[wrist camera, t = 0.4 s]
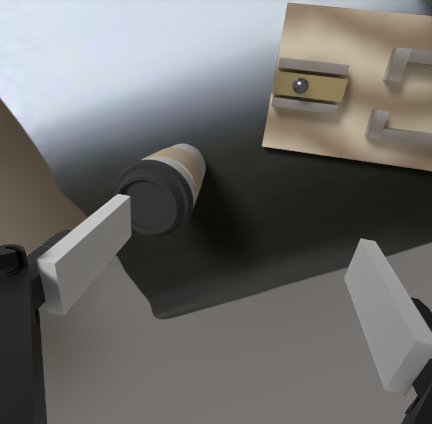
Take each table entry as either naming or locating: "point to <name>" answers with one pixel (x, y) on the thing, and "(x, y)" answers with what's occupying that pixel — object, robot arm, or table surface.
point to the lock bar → (309, 86)
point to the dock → (357, 86)
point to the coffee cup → (163, 189)
